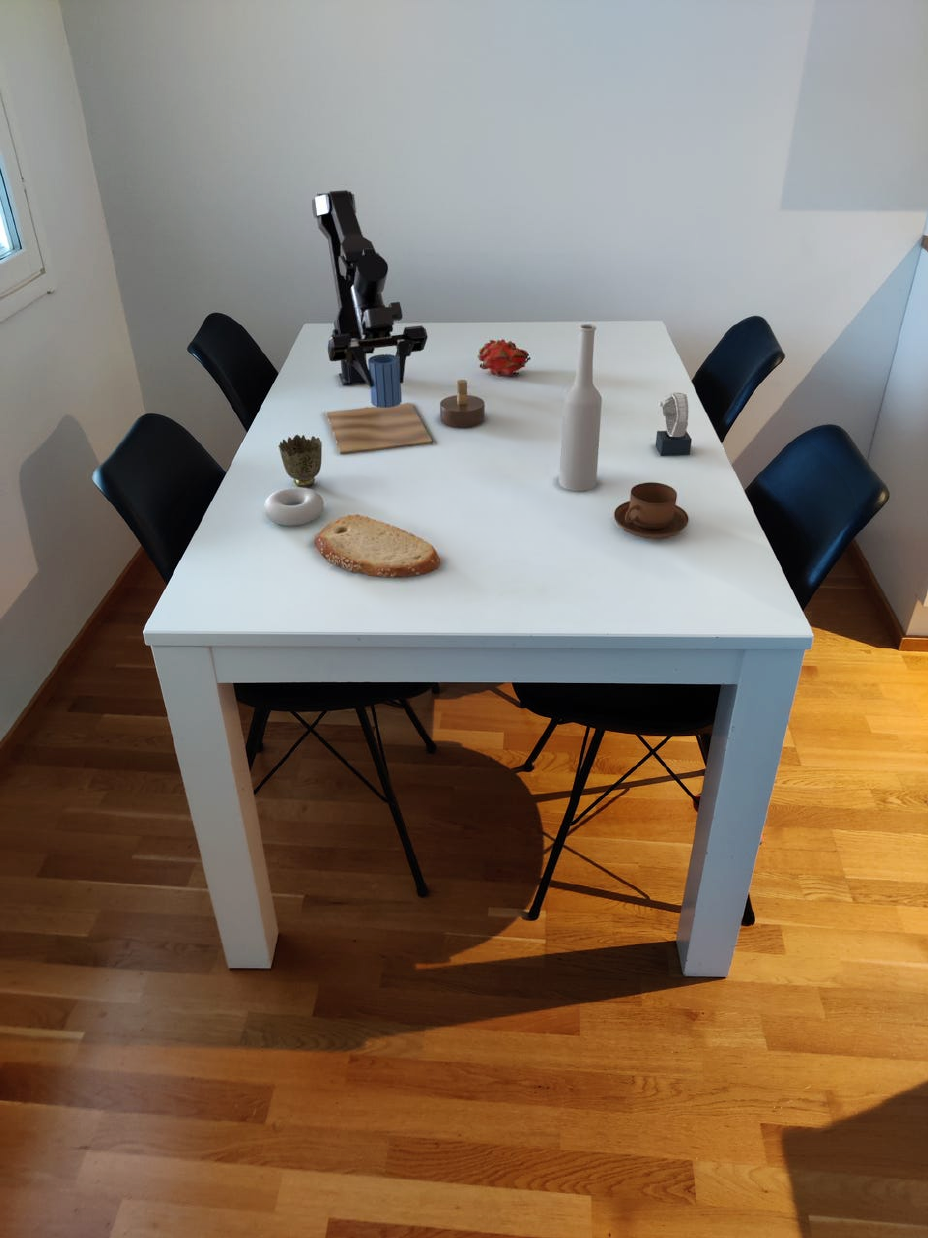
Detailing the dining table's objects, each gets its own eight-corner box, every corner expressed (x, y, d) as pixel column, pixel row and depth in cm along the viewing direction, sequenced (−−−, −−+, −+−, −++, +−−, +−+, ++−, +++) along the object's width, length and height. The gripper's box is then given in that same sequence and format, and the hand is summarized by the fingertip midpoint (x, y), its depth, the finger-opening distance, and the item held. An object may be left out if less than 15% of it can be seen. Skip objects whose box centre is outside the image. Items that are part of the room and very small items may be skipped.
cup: (332, 478, 171) (328, 437, 166) (314, 496, 165) (309, 454, 160) (296, 472, 173) (291, 432, 168) (276, 490, 167) (271, 448, 162)
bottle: (603, 482, 168) (616, 325, 152) (581, 495, 164) (591, 335, 148) (574, 471, 172) (583, 317, 156) (551, 483, 168) (558, 326, 152)
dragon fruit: (473, 379, 215) (525, 386, 215) (476, 368, 206) (530, 376, 207) (477, 342, 215) (529, 349, 216) (481, 330, 206) (534, 338, 207)
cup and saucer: (670, 551, 148) (675, 517, 144) (601, 532, 153) (603, 498, 150) (698, 519, 156) (702, 486, 153) (631, 502, 162) (634, 469, 158)
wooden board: (326, 414, 195) (325, 412, 195) (411, 404, 199) (411, 402, 198) (340, 453, 179) (340, 451, 179) (432, 442, 183) (432, 440, 183)
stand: (436, 413, 195) (434, 375, 190) (477, 408, 197) (477, 371, 192) (446, 430, 188) (445, 391, 183) (489, 425, 189) (489, 387, 185)
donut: (317, 531, 155) (330, 501, 163) (315, 512, 153) (328, 484, 161) (258, 528, 156) (274, 499, 164) (255, 510, 154) (271, 481, 162)
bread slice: (446, 571, 144) (445, 550, 142) (329, 591, 140) (327, 569, 138) (417, 517, 158) (416, 497, 156) (310, 534, 154) (308, 513, 152)
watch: (681, 440, 182) (688, 386, 176) (692, 458, 176) (699, 402, 169) (652, 441, 182) (658, 387, 176) (662, 459, 175) (669, 403, 169)
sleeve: (377, 395, 186) (374, 352, 181) (405, 397, 184) (403, 355, 180) (367, 406, 181) (364, 363, 176) (396, 408, 180) (393, 365, 175)
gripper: (324, 291, 172) (341, 371, 169) (423, 282, 176) (441, 359, 174) (321, 322, 182) (337, 397, 180) (414, 312, 187) (431, 385, 184)
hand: (386, 384), depth 179 cm, fingers closed on sleeve, 6 cm apart
